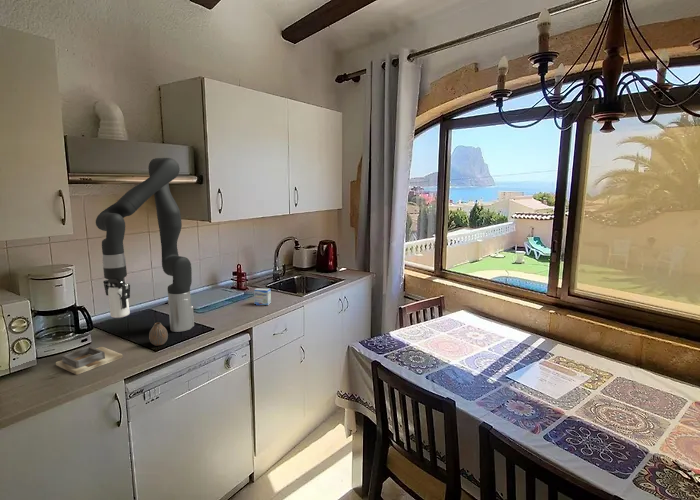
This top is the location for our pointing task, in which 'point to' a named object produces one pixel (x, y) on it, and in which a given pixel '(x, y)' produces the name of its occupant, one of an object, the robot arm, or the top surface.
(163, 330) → the vase
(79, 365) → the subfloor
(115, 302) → the can
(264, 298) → the medicine box
